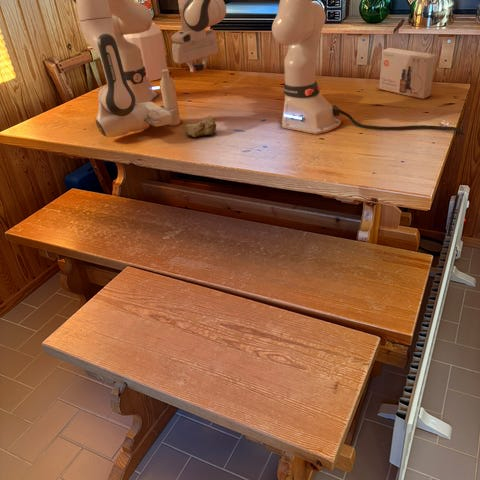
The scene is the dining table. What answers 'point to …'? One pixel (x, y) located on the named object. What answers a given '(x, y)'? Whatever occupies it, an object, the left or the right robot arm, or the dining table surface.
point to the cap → (198, 66)
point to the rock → (202, 127)
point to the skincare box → (407, 72)
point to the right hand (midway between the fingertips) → (198, 70)
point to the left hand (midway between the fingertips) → (173, 108)
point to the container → (150, 50)
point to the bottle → (169, 95)
